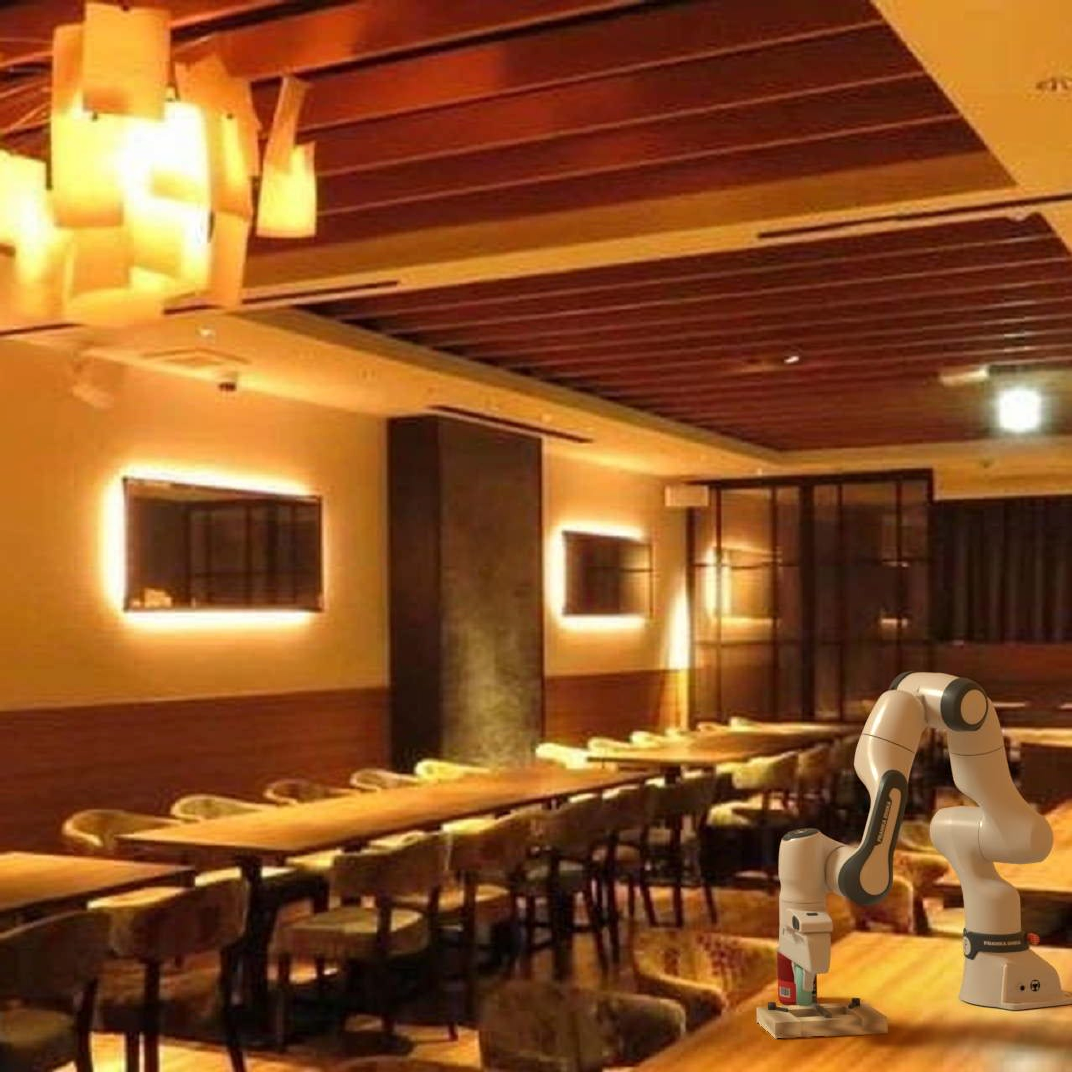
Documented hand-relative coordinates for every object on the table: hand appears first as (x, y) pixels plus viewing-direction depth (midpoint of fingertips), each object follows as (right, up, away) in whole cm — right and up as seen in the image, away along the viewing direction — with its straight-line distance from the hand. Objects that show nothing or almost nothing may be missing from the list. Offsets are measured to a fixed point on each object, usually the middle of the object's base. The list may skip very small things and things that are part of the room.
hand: (803, 987), depth 299 cm
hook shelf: (+3, -8, 0) cm, 8 cm away
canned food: (+2, -9, +21) cm, 23 cm away
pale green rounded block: (0, -3, 0) cm, 3 cm away
